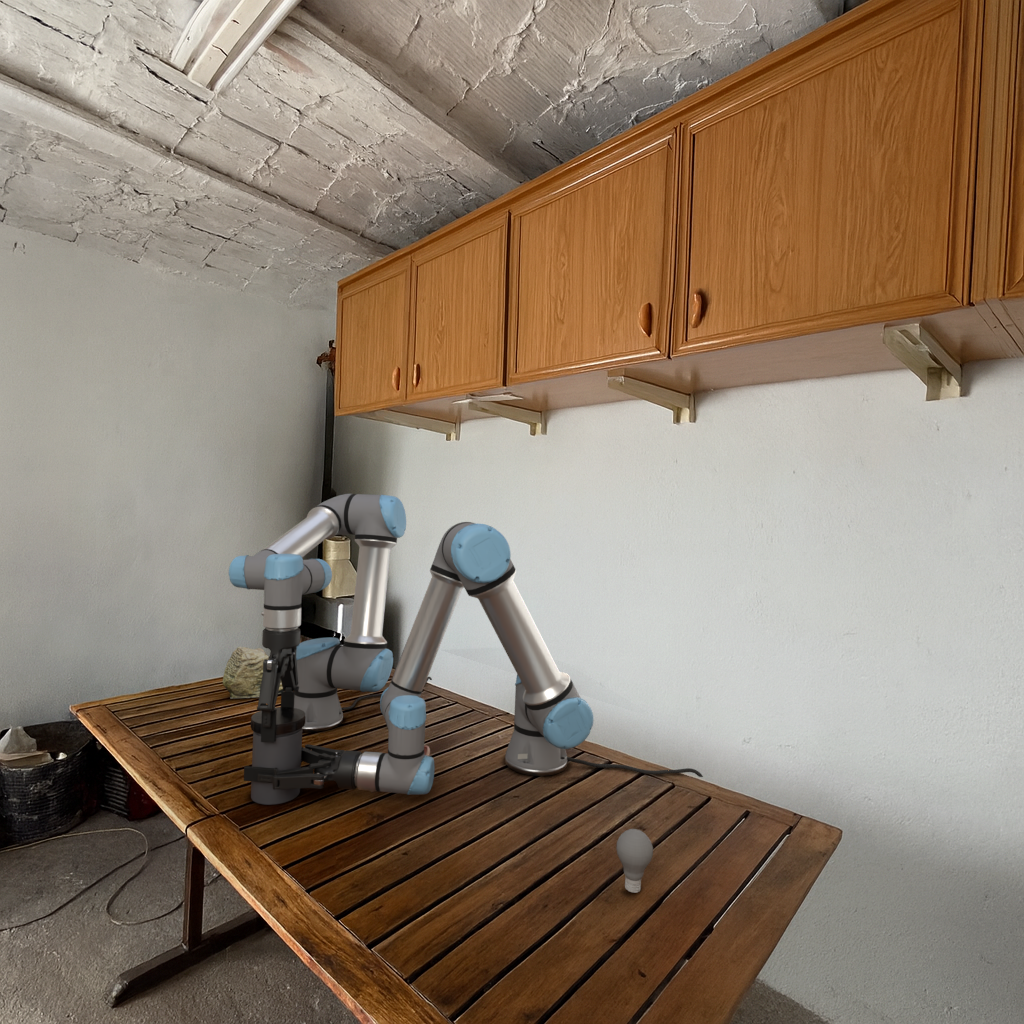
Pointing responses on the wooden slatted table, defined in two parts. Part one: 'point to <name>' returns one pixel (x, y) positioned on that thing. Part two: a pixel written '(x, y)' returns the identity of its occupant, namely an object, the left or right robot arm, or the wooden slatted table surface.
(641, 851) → the light bulb
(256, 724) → the lid
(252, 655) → the fossil
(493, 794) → the wooden slatted table surface
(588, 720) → the right robot arm
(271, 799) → the jar
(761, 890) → the wooden slatted table surface
